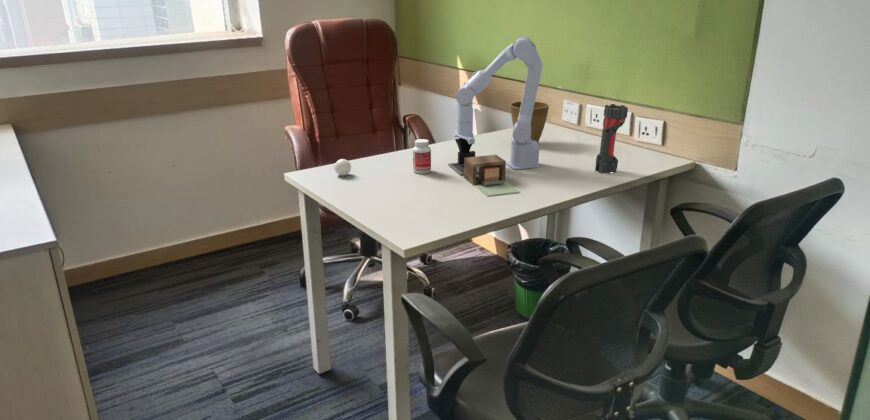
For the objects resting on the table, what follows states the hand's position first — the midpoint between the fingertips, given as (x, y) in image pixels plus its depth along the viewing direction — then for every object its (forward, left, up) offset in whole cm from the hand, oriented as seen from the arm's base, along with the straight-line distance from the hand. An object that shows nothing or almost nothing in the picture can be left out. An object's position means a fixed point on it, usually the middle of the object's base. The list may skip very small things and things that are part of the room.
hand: (464, 158), depth 231 cm
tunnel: (0, +19, -2) cm, 19 cm away
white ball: (+44, -2, -2) cm, 44 cm away
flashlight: (-44, +25, -2) cm, 51 cm away
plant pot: (-33, -16, -2) cm, 37 cm away
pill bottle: (+17, +4, -2) cm, 18 cm away
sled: (0, +14, -1) cm, 14 cm away
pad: (0, +29, -2) cm, 29 cm away
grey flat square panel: (0, +6, -2) cm, 7 cm away
